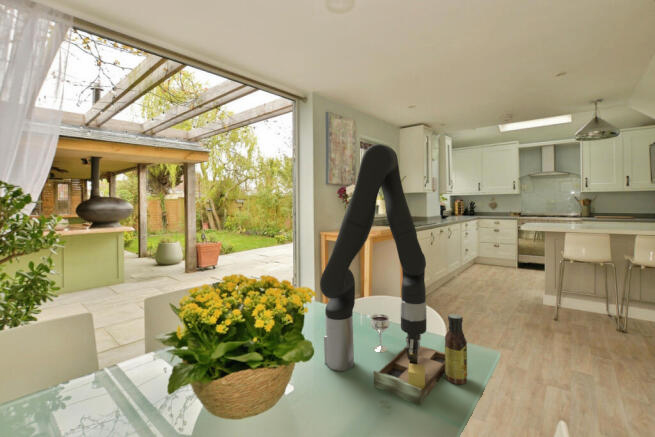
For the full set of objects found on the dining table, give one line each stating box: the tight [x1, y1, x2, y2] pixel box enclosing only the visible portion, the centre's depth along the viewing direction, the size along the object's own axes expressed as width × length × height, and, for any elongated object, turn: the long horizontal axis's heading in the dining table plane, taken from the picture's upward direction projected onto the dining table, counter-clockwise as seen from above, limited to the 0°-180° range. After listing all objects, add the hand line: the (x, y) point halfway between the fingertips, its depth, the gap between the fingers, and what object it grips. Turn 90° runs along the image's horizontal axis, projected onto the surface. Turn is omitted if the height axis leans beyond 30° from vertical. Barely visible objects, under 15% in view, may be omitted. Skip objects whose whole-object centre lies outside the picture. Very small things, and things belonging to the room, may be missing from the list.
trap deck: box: [372, 345, 445, 406], centre depth 98 cm, size 14×28×4 cm, turn 141°
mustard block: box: [408, 363, 425, 389], centre depth 89 cm, size 4×4×4 cm
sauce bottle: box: [444, 313, 468, 385], centre depth 93 cm, size 7×6×20 cm
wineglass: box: [370, 313, 390, 353], centre depth 113 cm, size 7×7×12 cm
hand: (413, 369), depth 93 cm, fingers closed
